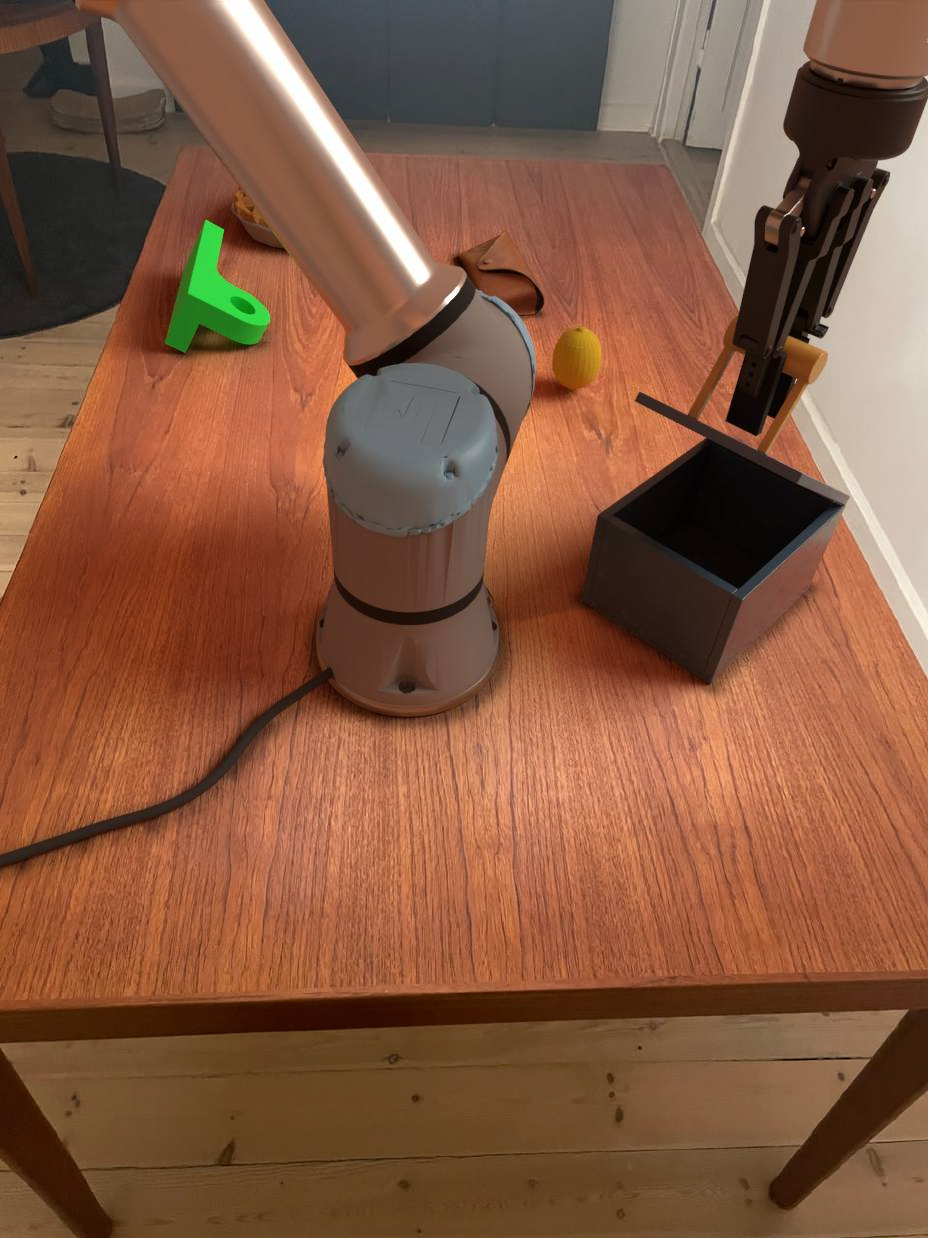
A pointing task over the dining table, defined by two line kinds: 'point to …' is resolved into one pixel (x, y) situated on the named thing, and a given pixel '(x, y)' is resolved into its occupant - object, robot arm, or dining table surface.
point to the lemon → (577, 358)
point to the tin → (707, 556)
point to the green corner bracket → (213, 299)
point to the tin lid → (806, 369)
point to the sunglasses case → (503, 274)
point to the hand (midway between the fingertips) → (754, 418)
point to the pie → (253, 220)
